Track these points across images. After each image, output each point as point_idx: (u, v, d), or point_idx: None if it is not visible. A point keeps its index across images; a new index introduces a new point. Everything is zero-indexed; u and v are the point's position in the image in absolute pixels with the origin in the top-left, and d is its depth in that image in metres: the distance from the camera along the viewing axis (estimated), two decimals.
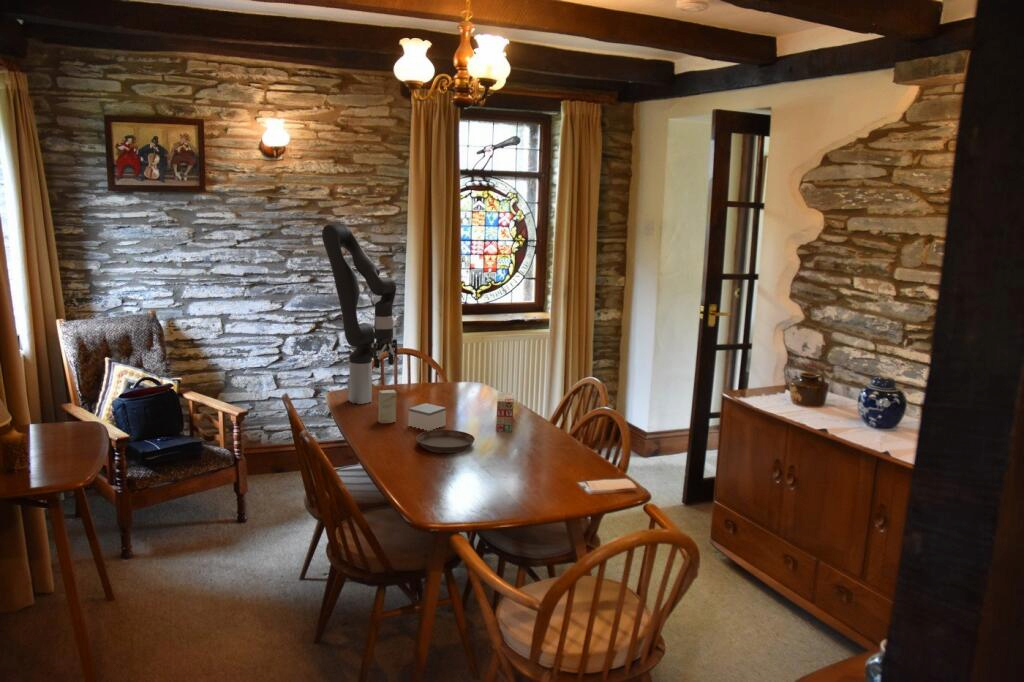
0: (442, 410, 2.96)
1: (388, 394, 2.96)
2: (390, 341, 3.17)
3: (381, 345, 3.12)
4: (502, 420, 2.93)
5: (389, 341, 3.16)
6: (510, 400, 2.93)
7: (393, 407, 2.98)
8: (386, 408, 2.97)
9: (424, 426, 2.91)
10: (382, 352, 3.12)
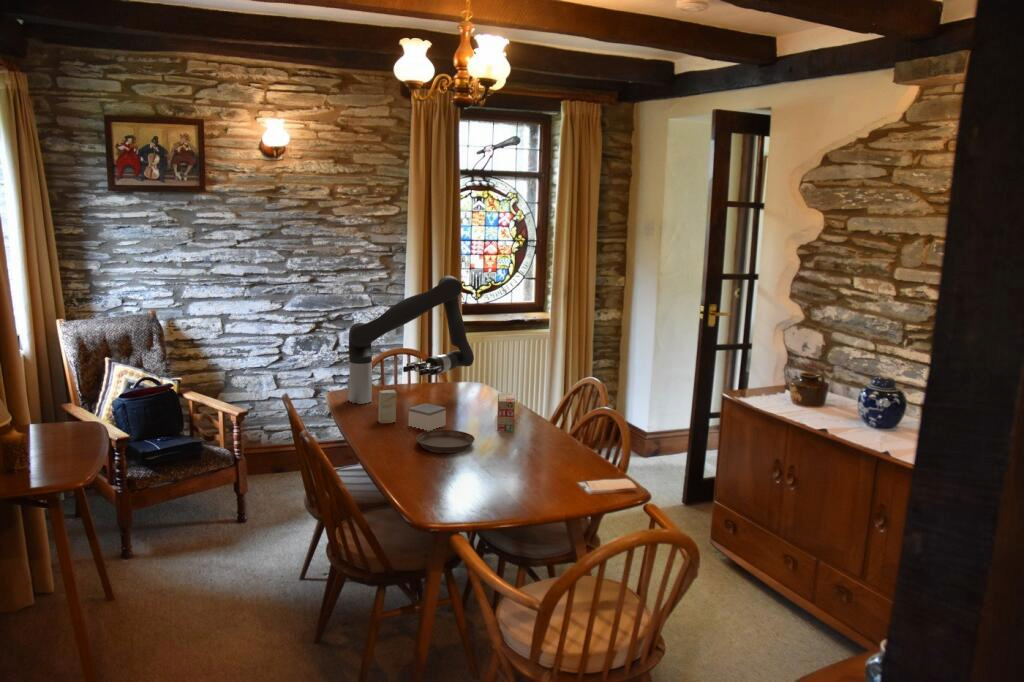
0: (442, 410, 2.96)
1: (388, 394, 2.96)
2: None
3: None
4: (503, 420, 2.93)
5: None
6: (511, 400, 2.94)
7: (393, 407, 2.98)
8: (386, 408, 2.97)
9: (424, 426, 2.91)
10: None
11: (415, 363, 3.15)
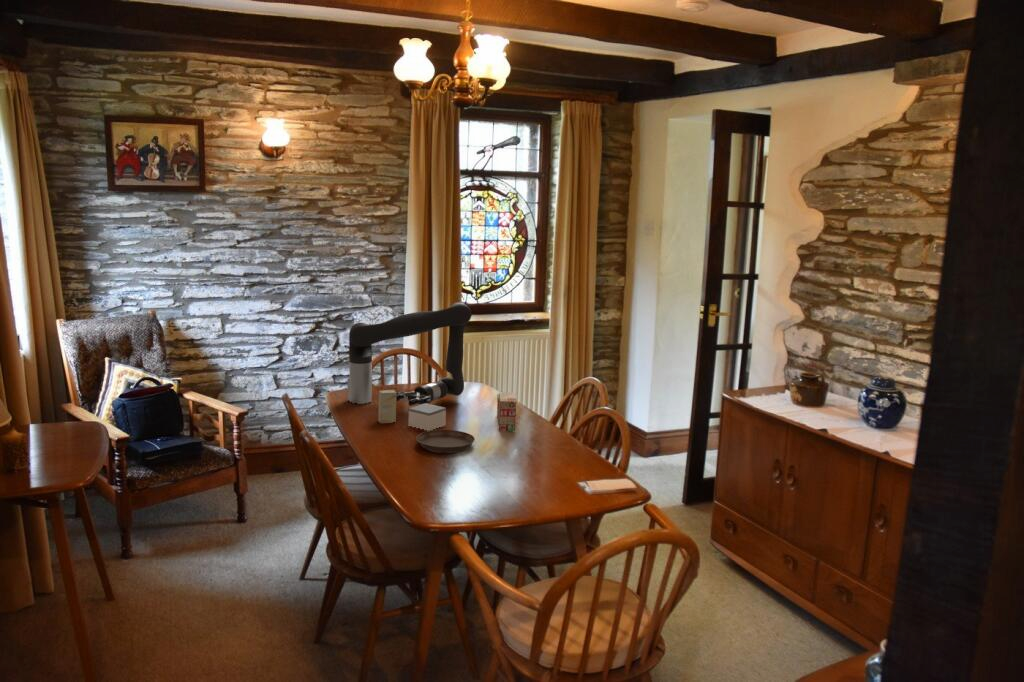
0: (442, 410, 2.96)
1: (388, 394, 2.96)
2: None
3: None
4: (505, 420, 2.93)
5: None
6: (513, 400, 2.94)
7: (393, 407, 2.98)
8: (386, 408, 2.97)
9: (424, 426, 2.91)
10: None
11: (404, 392, 3.12)
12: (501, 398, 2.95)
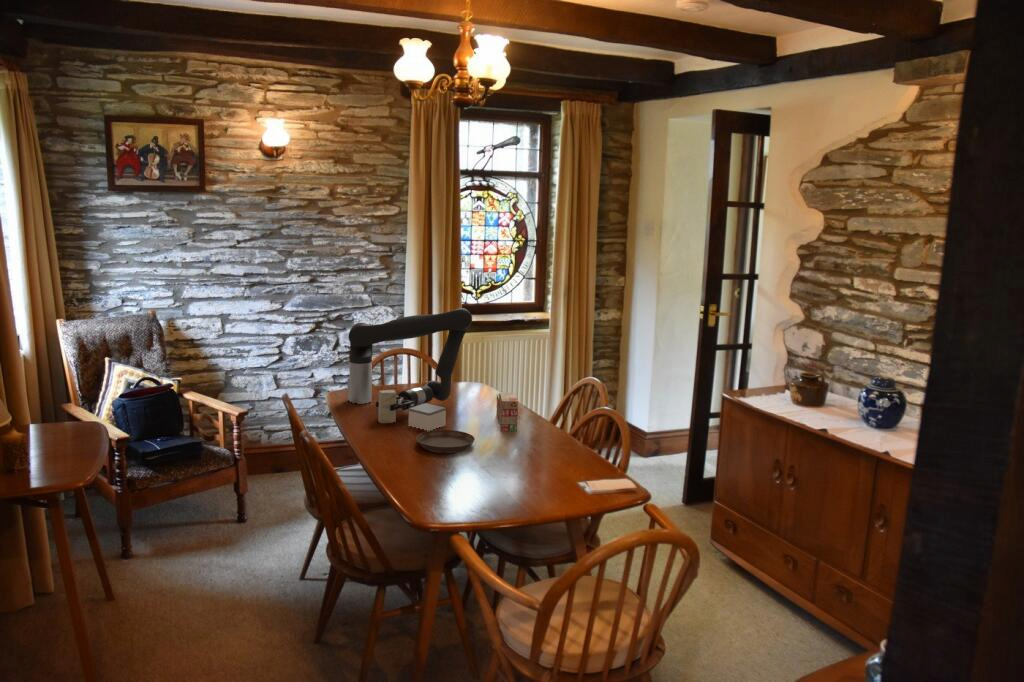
0: (442, 410, 2.96)
1: (388, 394, 2.96)
2: None
3: None
4: (507, 419, 2.94)
5: None
6: (514, 399, 2.94)
7: None
8: (386, 408, 2.97)
9: (424, 426, 2.91)
10: None
11: None
12: (502, 398, 2.96)
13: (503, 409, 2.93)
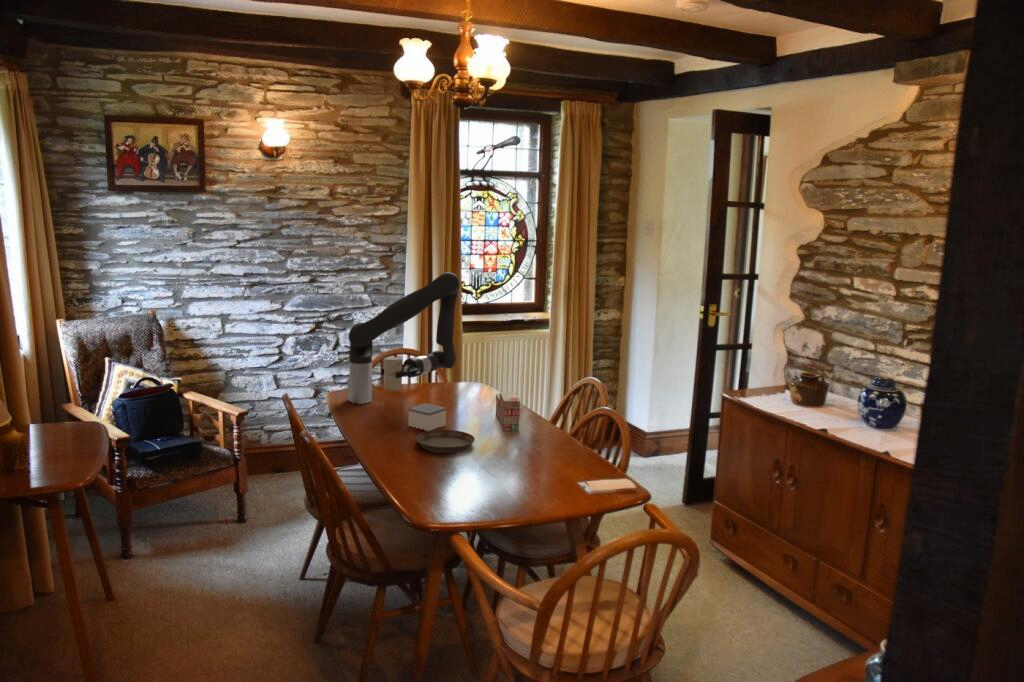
0: (442, 410, 2.96)
1: (393, 361, 2.94)
2: None
3: None
4: (509, 419, 2.94)
5: None
6: (516, 399, 2.95)
7: None
8: (392, 375, 2.94)
9: (424, 426, 2.91)
10: None
11: None
12: (504, 398, 2.96)
13: (505, 409, 2.93)
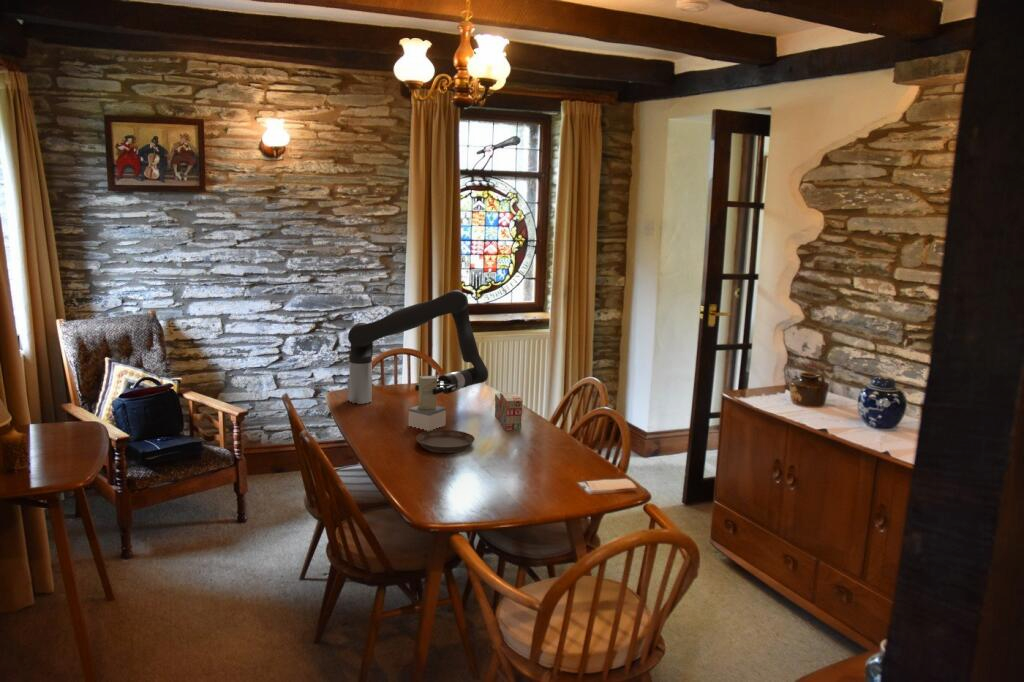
0: (442, 410, 2.96)
1: (429, 379, 2.92)
2: None
3: None
4: (511, 419, 2.95)
5: None
6: (518, 399, 2.95)
7: None
8: (427, 394, 2.93)
9: (424, 426, 2.91)
10: None
11: None
12: (506, 398, 2.96)
13: (508, 409, 2.93)
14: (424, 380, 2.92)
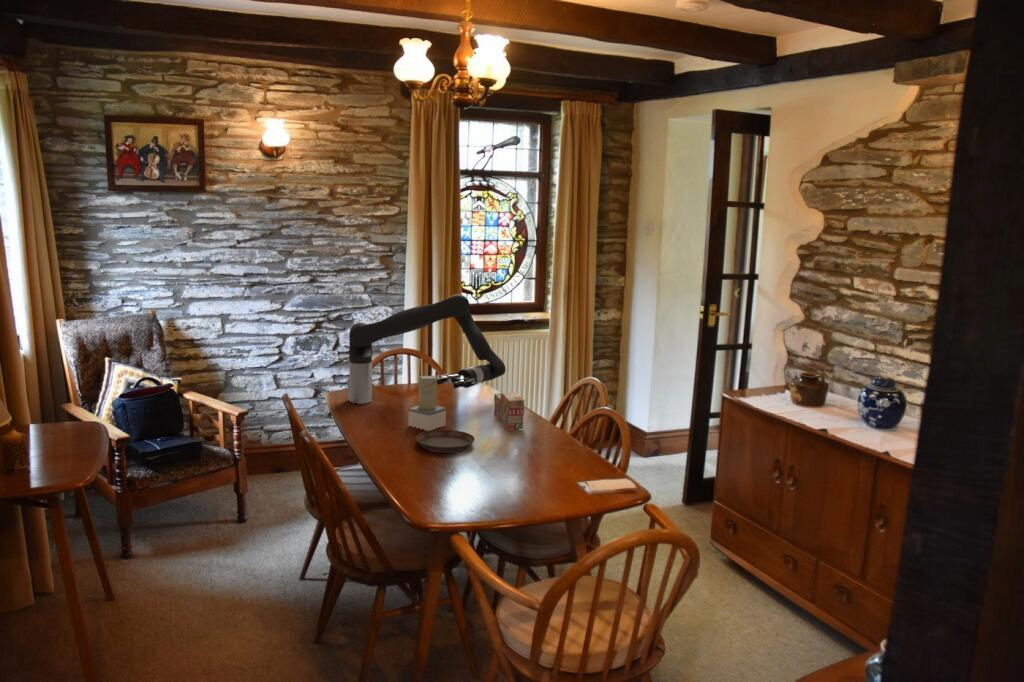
0: (442, 410, 2.96)
1: (429, 379, 2.92)
2: None
3: None
4: (513, 419, 2.95)
5: None
6: (520, 398, 2.96)
7: (433, 393, 2.94)
8: (427, 394, 2.93)
9: (424, 426, 2.91)
10: None
11: (448, 375, 3.10)
12: (508, 397, 2.97)
13: (510, 408, 2.94)
14: (424, 380, 2.91)
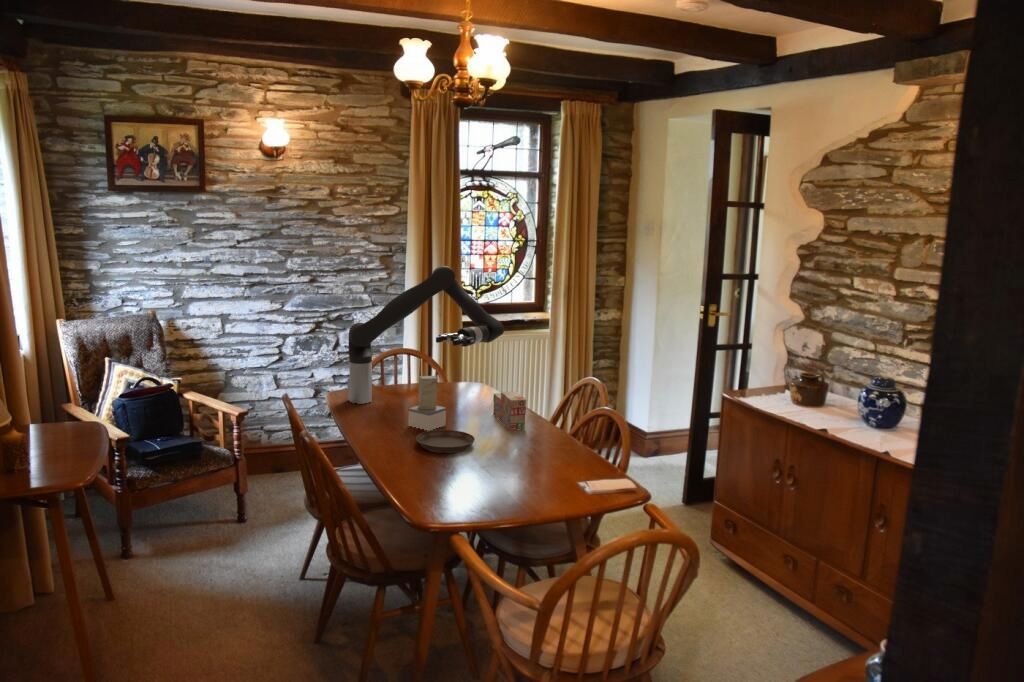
0: (442, 410, 2.96)
1: (429, 379, 2.92)
2: None
3: None
4: (515, 418, 2.96)
5: None
6: (521, 398, 2.97)
7: (433, 393, 2.94)
8: (427, 394, 2.93)
9: (424, 426, 2.91)
10: None
11: (447, 334, 3.14)
12: (509, 397, 2.97)
13: (512, 408, 2.94)
14: (424, 380, 2.91)
